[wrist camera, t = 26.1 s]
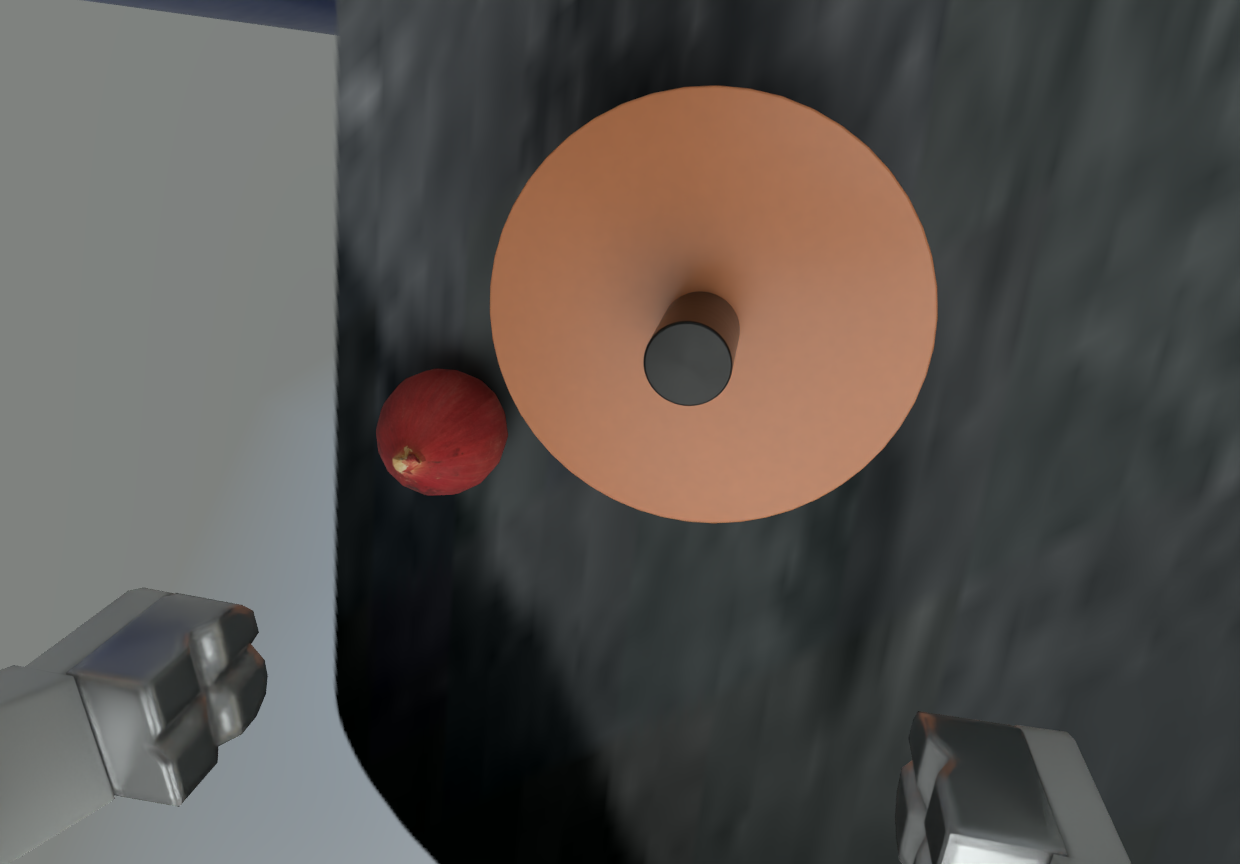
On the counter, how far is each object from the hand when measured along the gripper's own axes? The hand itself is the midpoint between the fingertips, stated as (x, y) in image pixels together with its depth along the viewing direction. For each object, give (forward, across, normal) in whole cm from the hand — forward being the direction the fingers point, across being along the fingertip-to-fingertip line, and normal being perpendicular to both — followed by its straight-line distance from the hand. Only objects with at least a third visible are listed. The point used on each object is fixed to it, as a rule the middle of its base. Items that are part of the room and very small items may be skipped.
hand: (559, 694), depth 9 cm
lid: (+17, 0, 0) cm, 17 cm away
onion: (+27, +12, +8) cm, 31 cm away
